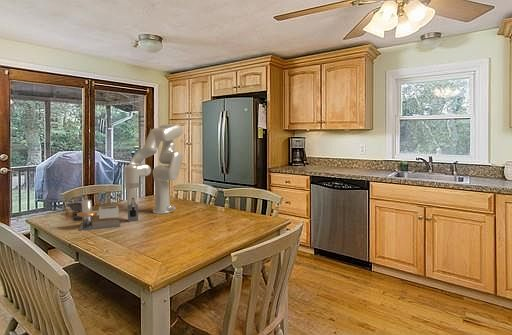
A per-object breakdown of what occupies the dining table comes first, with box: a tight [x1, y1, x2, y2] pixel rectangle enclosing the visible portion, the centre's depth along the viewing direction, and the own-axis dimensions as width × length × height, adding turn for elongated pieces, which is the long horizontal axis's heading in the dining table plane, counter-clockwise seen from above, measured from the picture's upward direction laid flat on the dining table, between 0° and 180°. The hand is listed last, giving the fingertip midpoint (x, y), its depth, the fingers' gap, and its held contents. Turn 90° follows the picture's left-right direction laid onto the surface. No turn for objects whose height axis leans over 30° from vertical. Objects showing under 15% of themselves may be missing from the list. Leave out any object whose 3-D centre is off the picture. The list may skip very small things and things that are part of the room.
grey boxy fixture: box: [77, 199, 121, 232], centre depth 177 cm, size 22×13×15 cm, turn 116°
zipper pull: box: [67, 202, 83, 222], centre depth 198 cm, size 9×7×25 cm
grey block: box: [126, 203, 139, 223], centre depth 188 cm, size 6×3×10 cm, turn 116°
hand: (132, 215), depth 188 cm, fingers open, 3 cm apart
